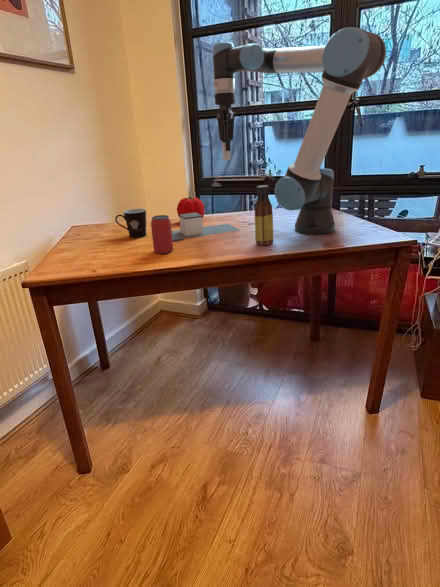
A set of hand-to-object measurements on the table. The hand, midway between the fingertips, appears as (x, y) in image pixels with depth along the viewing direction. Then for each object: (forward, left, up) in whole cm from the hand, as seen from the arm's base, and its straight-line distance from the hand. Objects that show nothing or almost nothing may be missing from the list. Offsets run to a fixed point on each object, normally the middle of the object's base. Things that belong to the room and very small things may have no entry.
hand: (227, 159), depth 150 cm
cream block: (-5, +18, -19) cm, 27 cm away
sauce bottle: (-31, 0, -27) cm, 41 cm away
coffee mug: (+5, +39, -27) cm, 47 cm away
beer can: (-22, +34, -27) cm, 48 cm away
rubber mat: (-5, +14, -26) cm, 30 cm away
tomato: (+14, +12, -27) cm, 32 cm away
